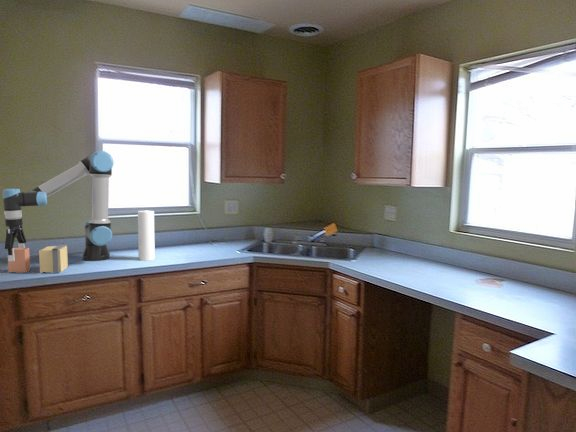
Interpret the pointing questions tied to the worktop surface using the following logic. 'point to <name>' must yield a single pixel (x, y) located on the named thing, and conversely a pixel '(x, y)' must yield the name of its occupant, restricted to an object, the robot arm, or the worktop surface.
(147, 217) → the cylinder container
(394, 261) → the worktop surface
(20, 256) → the stub
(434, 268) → the worktop surface
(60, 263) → the block
